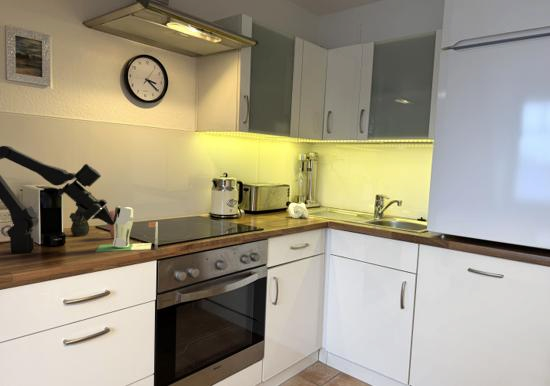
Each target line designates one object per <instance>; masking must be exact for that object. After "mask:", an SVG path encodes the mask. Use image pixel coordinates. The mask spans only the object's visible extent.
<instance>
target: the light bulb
mask: <svg viewBox="0 0 550 386" xmlns="http://www.w3.org/2000/svg"><path fill="white" fill-rule="evenodd" d="M114 212H115V209H114V210H113V209H112V210H111V211H110V210H109V213H110V215H111V217H112V219H113V221H114ZM106 225H107V226H108V228H109V231H110V238H112V239H114V224H113V225H110V224H108V223H106Z"/></svg>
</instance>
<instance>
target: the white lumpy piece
mask: <svg viewBox="0 0 550 386" xmlns="http://www.w3.org/2000/svg"><path fill="white" fill-rule="evenodd" d="M288 213H289V214H288V215H290V217H291V218H293V219H299V218H300V217H301V218H303V219H305V218H307V217H308V215H309V213H308V209H307V207H306V204H305V203H304V202H301V203H295V202H291V203H290V204H289V205H288Z"/></svg>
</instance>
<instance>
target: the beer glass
mask: <svg viewBox="0 0 550 386" xmlns="http://www.w3.org/2000/svg"><path fill="white" fill-rule="evenodd" d="M134 209H135V208H134V207H132V206H123V205H117V206H115V207H114V210H115V212H114V238H113V241H112V244H113V245H112V244H111V245H112V246H113V247H117V248H127V247H129V244H130V235H131V231H132V228H133V223H134V211H135V210H134Z"/></svg>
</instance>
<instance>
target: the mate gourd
mask: <svg viewBox="0 0 550 386" xmlns="http://www.w3.org/2000/svg"><path fill="white" fill-rule="evenodd" d="M89 231H90V225H89V222H88V221H87V220H86V219H85V218H84V220H83V222H82V223H81V224H77V223H73V222H72V223H71V226H70V232H71V234H72V235H73V236H75V237H82V236H87V235H88V234H89Z"/></svg>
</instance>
